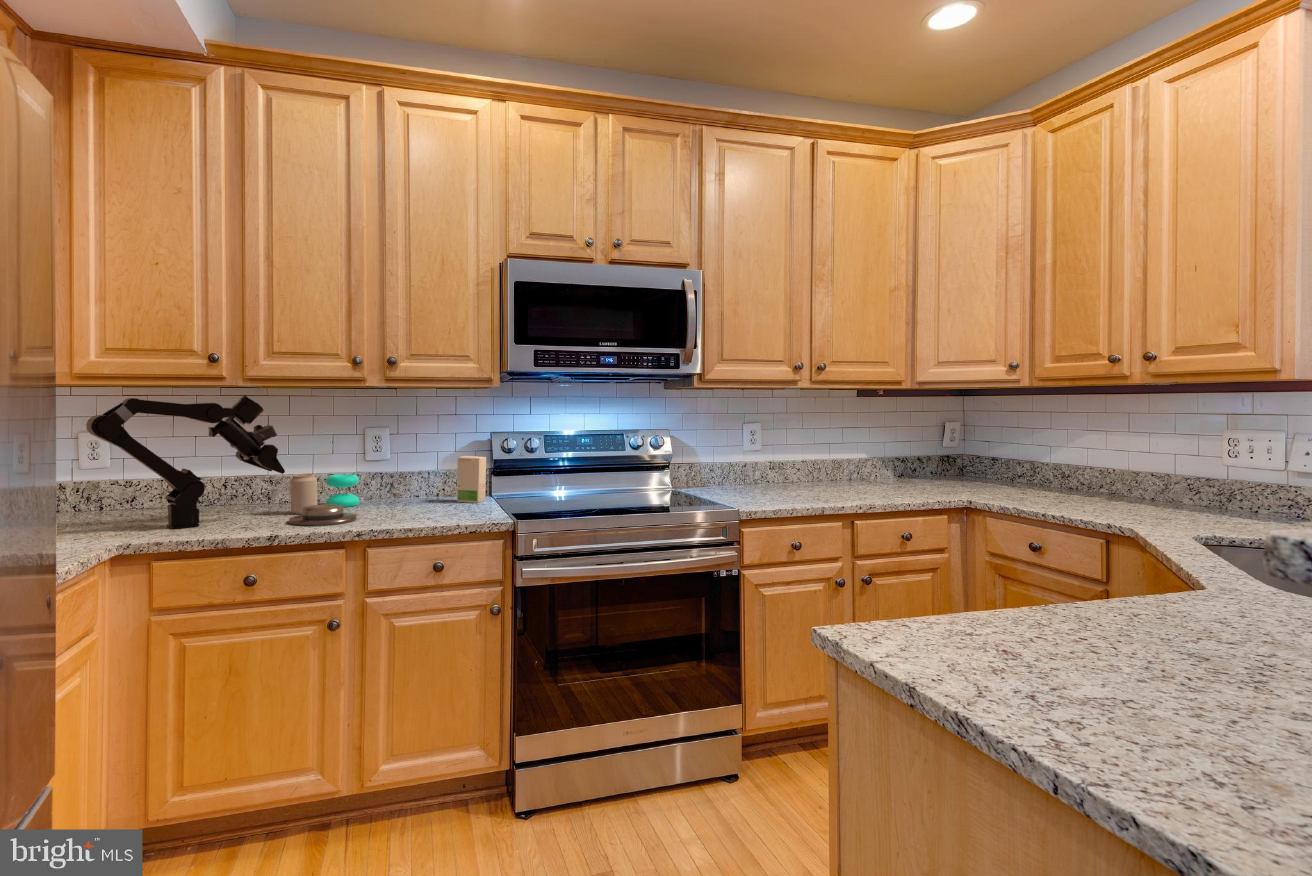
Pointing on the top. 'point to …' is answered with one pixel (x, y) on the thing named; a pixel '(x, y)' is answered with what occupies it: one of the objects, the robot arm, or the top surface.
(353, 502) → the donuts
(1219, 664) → the top surface
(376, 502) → the top surface
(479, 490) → the skincare box
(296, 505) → the can
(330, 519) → the duct stub
